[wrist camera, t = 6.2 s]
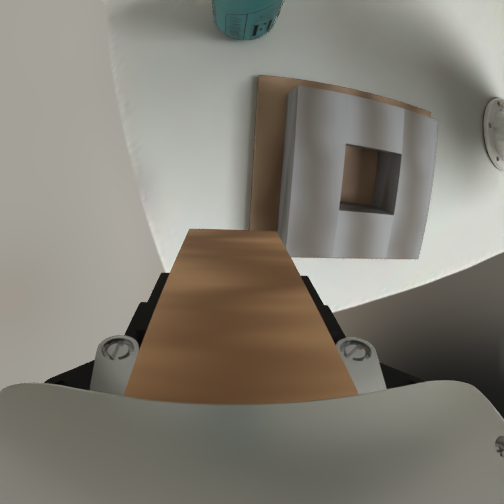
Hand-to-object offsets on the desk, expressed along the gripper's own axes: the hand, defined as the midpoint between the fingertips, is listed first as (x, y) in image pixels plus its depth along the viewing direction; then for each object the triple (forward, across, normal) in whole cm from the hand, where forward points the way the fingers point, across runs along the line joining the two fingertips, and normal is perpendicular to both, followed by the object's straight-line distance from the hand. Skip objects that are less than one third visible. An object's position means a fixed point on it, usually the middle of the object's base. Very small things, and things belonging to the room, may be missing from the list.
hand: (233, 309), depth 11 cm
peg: (+4, 0, 0) cm, 4 cm away
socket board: (+21, -13, -4) cm, 25 cm away
